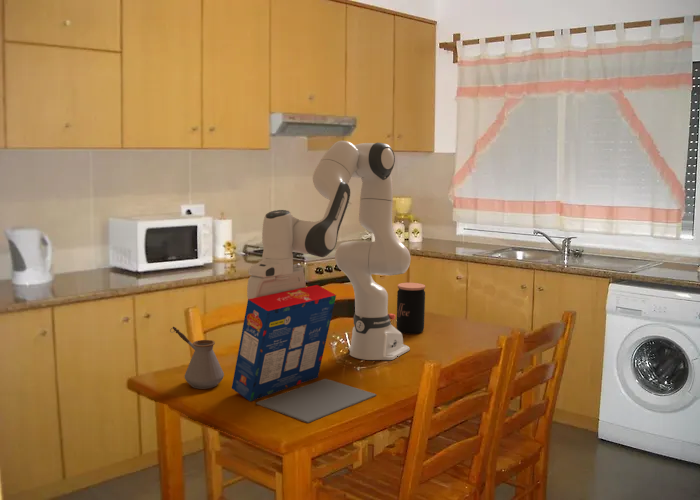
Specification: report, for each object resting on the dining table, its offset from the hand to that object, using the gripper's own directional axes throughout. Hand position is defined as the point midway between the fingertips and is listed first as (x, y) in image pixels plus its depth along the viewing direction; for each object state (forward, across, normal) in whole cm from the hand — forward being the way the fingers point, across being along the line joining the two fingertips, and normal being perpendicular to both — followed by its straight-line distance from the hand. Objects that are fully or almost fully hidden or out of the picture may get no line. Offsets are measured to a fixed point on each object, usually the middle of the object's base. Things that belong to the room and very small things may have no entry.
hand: (277, 313), depth 209 cm
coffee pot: (+22, +14, -22) cm, 34 cm away
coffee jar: (+22, -79, -10) cm, 83 cm away
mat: (+22, 0, +16) cm, 28 cm away
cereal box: (+21, 0, 0) cm, 21 cm away
